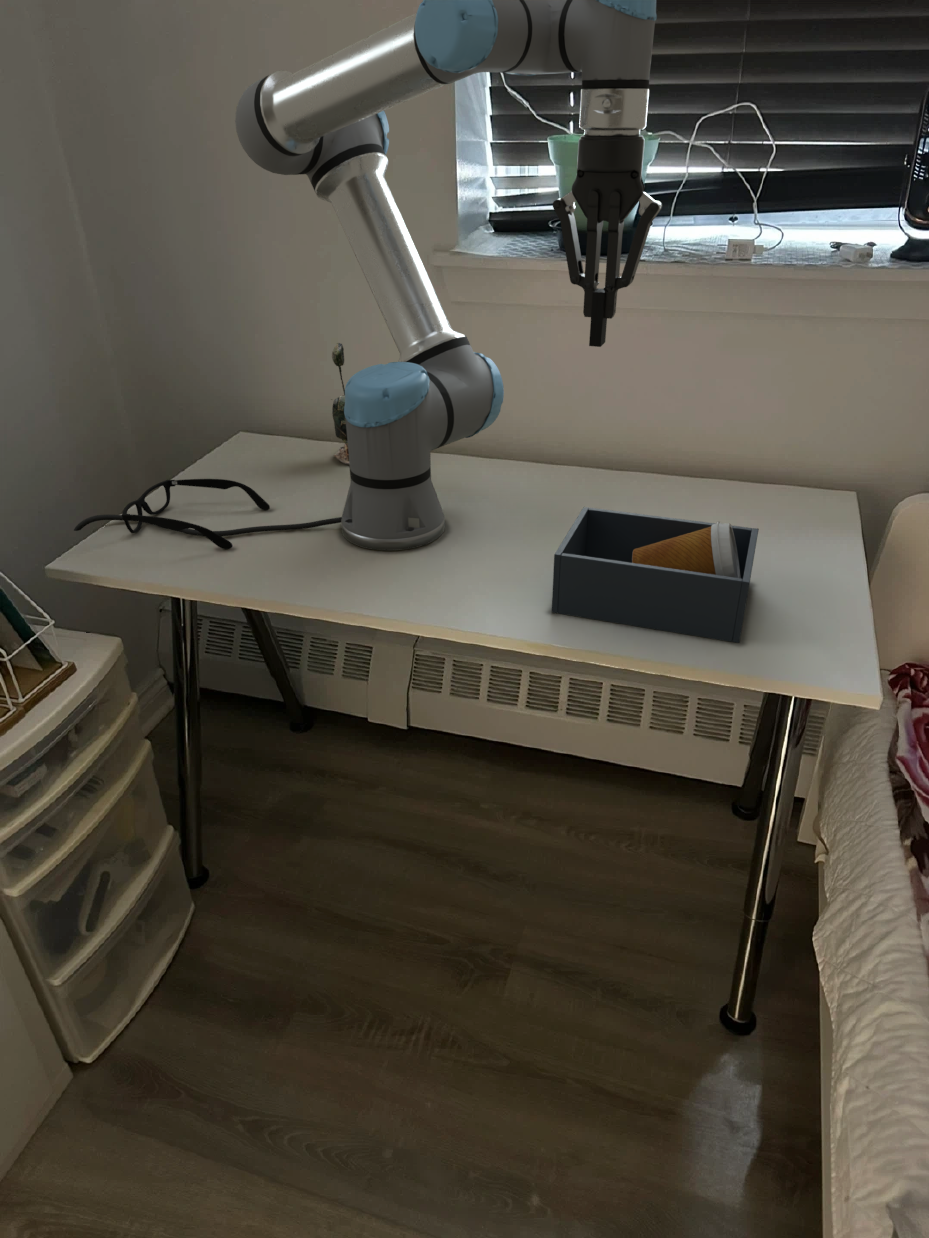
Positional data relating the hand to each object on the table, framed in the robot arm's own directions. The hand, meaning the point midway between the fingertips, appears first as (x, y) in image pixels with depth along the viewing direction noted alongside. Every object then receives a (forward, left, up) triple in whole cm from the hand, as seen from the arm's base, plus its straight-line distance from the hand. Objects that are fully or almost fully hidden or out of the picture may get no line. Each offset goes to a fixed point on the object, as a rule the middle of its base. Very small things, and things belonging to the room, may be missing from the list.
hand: (597, 344), depth 113 cm
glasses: (-57, -12, -28) cm, 65 cm away
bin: (+12, -13, -28) cm, 33 cm away
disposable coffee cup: (+9, -13, -25) cm, 30 cm away
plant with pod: (-47, +22, -29) cm, 59 cm away
